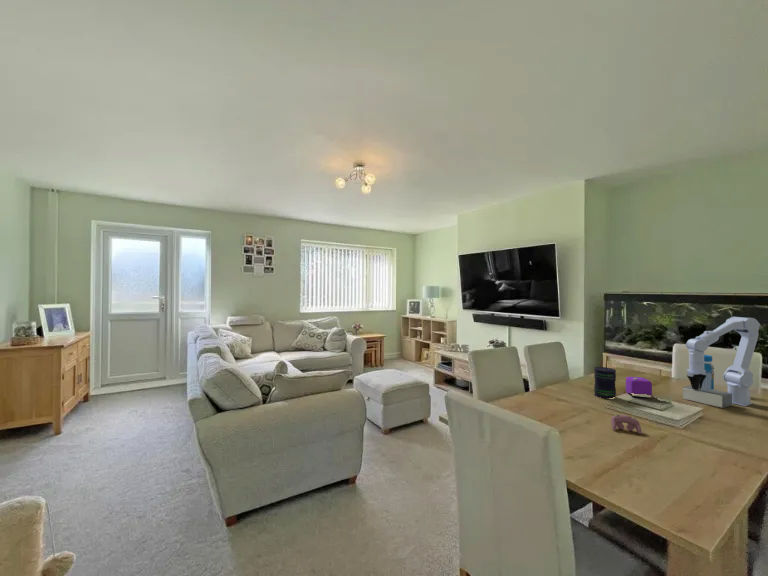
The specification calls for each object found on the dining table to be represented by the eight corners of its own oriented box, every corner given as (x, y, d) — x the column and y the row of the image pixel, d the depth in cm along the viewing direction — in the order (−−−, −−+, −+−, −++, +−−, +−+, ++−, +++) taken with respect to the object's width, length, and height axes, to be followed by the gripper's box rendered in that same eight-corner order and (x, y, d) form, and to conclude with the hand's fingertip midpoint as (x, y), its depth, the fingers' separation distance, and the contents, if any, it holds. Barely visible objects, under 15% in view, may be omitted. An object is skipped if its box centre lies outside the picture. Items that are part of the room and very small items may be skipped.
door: (684, 398, 175) (684, 380, 175) (724, 407, 161) (724, 388, 161) (682, 398, 174) (682, 380, 174) (722, 408, 160) (722, 388, 160)
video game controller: (639, 435, 134) (637, 417, 136) (642, 434, 130) (640, 416, 133) (610, 431, 138) (609, 413, 141) (612, 430, 134) (611, 412, 137)
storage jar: (620, 399, 173) (620, 371, 173) (601, 399, 173) (601, 371, 173) (607, 393, 183) (607, 366, 183) (590, 393, 183) (590, 366, 183)
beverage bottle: (701, 391, 187) (701, 356, 188) (690, 387, 196) (690, 353, 196) (718, 392, 186) (718, 357, 186) (706, 388, 194) (706, 354, 194)
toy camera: (639, 391, 187) (639, 374, 188) (656, 399, 174) (656, 380, 174) (618, 390, 188) (618, 373, 189) (634, 398, 175) (634, 379, 175)
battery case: (691, 395, 180) (691, 384, 180) (731, 405, 165) (731, 393, 165) (683, 398, 176) (683, 387, 176) (724, 407, 161) (724, 395, 161)
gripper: (693, 359, 177) (693, 385, 177) (679, 362, 170) (680, 388, 170) (710, 362, 170) (710, 388, 170) (697, 365, 164) (697, 392, 164)
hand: (696, 388), depth 170 cm, fingers closed on door, 2 cm apart
